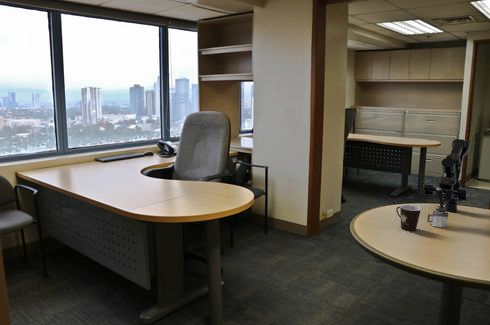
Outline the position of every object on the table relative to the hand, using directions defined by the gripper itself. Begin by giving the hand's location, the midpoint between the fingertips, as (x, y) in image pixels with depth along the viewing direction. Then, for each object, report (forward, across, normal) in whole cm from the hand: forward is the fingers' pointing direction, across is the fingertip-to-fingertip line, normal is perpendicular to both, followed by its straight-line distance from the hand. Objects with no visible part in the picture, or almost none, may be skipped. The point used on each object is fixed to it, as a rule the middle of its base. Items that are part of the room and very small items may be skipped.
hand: (441, 206), depth 185 cm
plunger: (+6, 0, +6) cm, 8 cm away
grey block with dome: (+6, 0, +6) cm, 9 cm away
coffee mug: (+16, -11, -2) cm, 19 cm away
